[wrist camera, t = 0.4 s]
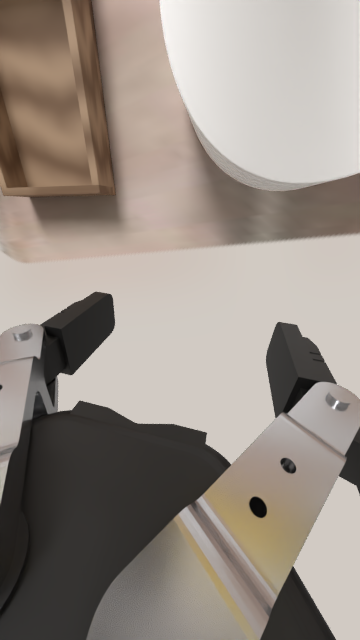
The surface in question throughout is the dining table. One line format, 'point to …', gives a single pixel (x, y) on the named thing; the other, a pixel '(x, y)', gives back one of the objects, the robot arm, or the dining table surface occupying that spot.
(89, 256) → the dining table surface
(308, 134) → the plate stack
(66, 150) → the tray
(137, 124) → the dining table surface
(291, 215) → the dining table surface
